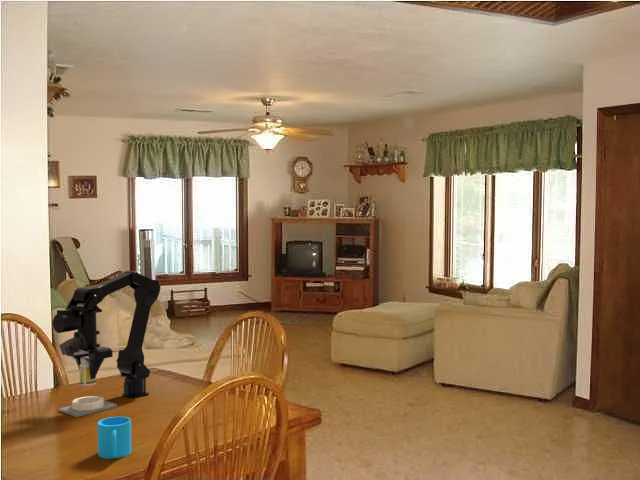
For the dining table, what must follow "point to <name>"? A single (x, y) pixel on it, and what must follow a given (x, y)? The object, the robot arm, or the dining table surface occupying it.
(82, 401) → the holder board
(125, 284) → the robot arm
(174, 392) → the dining table surface
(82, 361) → the supplement bottle
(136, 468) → the dining table surface
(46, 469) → the dining table surface
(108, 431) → the mug
